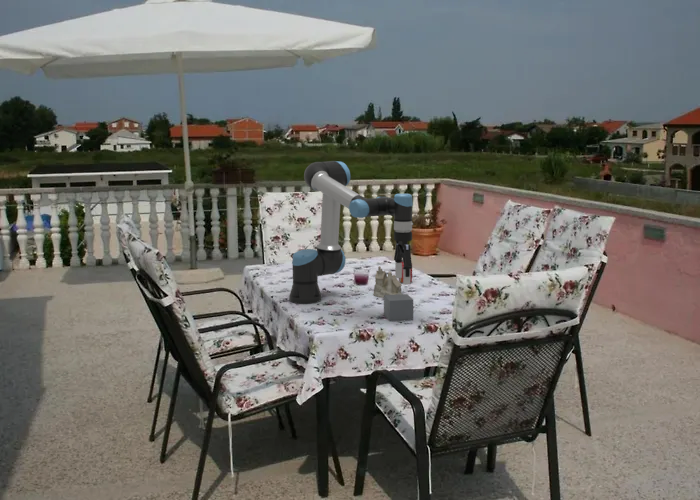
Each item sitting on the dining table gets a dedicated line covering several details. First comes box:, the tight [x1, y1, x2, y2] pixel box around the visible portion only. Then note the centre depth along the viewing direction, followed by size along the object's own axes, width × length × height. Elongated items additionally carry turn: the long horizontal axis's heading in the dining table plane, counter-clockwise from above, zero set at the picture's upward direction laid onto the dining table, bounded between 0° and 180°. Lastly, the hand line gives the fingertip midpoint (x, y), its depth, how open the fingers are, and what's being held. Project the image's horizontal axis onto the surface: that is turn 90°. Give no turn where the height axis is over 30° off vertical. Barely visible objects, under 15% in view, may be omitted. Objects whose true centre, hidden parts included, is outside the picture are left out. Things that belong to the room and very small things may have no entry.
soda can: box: [398, 258, 413, 284], centre depth 349 cm, size 7×7×12 cm
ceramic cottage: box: [372, 265, 403, 299], centre depth 323 cm, size 16×16×15 cm
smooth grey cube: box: [383, 293, 414, 322], centre depth 282 cm, size 10×10×9 cm
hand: (402, 281), depth 280 cm, fingers open, 13 cm apart
